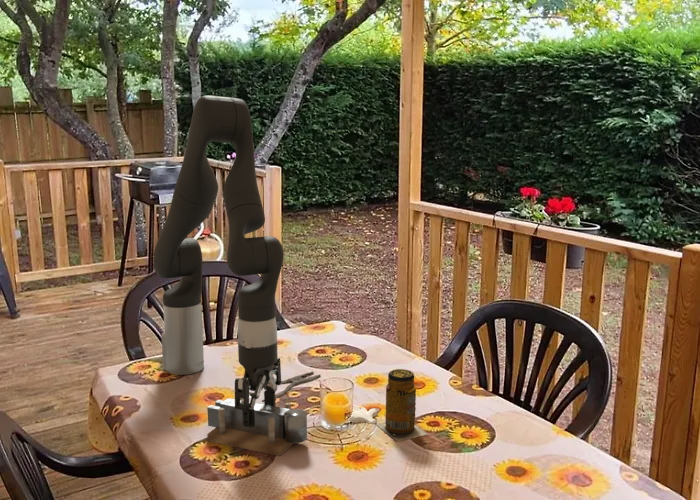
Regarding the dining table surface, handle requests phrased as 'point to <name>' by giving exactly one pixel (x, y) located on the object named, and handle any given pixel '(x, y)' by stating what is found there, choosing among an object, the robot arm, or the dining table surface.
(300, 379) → the pliers
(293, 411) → the grey metal bar
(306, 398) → the dining table surface
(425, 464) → the dining table surface
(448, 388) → the dining table surface
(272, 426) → the rack
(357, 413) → the acanthus leaf ornament
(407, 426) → the condiment
